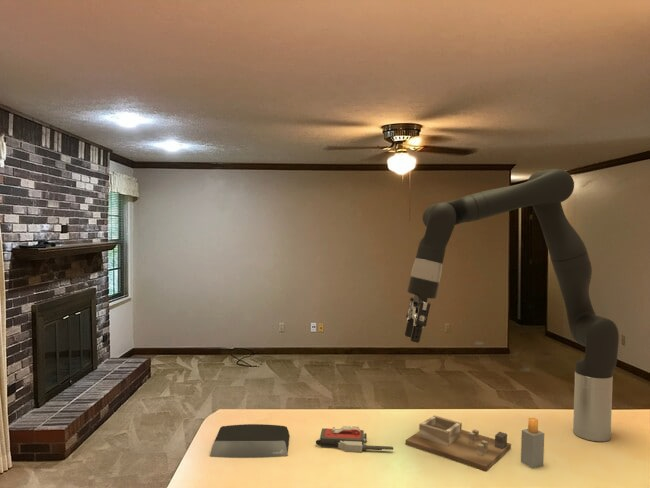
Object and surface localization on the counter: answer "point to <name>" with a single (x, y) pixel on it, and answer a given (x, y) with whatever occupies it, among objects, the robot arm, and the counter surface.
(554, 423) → the counter surface
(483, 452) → the board
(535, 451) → the connector plug
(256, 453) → the external hard drive
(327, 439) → the walkie-talkie
